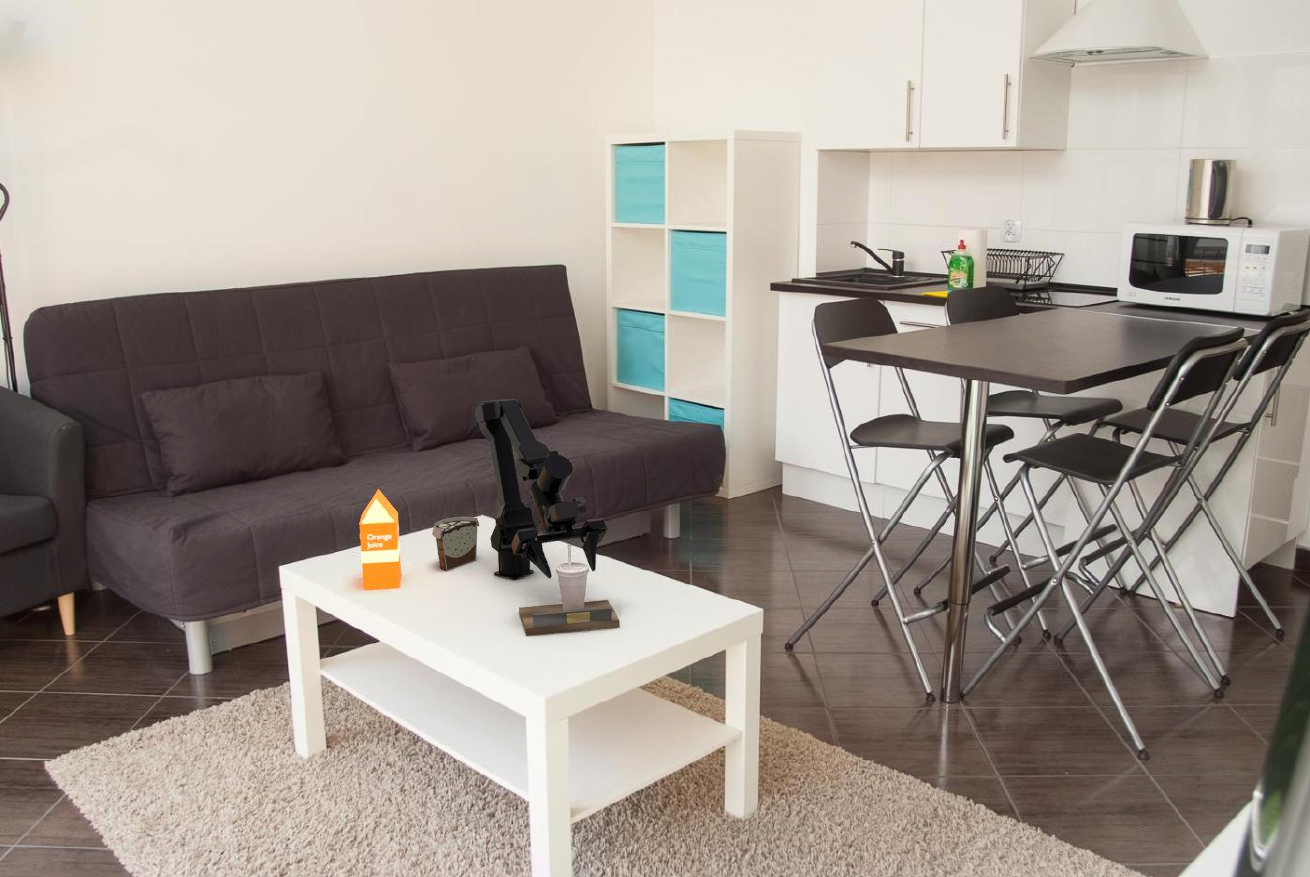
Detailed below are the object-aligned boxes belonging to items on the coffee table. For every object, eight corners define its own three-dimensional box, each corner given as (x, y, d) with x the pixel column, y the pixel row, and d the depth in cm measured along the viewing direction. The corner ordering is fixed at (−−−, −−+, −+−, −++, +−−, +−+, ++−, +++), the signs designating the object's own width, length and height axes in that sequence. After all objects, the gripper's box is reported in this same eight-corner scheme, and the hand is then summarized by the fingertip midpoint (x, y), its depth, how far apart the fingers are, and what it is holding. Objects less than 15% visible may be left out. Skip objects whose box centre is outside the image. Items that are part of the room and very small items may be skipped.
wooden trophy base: (519, 614, 233) (518, 595, 232) (607, 606, 236) (607, 588, 236) (526, 636, 221) (525, 616, 220) (619, 628, 225) (619, 608, 224)
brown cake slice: (461, 555, 272) (459, 513, 270) (480, 559, 269) (479, 517, 267) (422, 568, 263) (420, 525, 261) (441, 573, 259) (439, 529, 257)
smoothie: (565, 607, 232) (563, 539, 229) (595, 611, 230) (593, 542, 227) (551, 618, 226) (549, 548, 223) (582, 622, 224) (580, 551, 221)
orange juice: (402, 575, 258) (397, 487, 254) (400, 588, 249) (395, 497, 245) (365, 577, 257) (360, 489, 253) (362, 590, 248) (357, 499, 244)
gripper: (514, 489, 223) (537, 560, 216) (603, 478, 232) (628, 546, 224) (502, 519, 232) (523, 588, 225) (588, 508, 240) (611, 574, 233)
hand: (572, 573), depth 226 cm, fingers open, 9 cm apart
